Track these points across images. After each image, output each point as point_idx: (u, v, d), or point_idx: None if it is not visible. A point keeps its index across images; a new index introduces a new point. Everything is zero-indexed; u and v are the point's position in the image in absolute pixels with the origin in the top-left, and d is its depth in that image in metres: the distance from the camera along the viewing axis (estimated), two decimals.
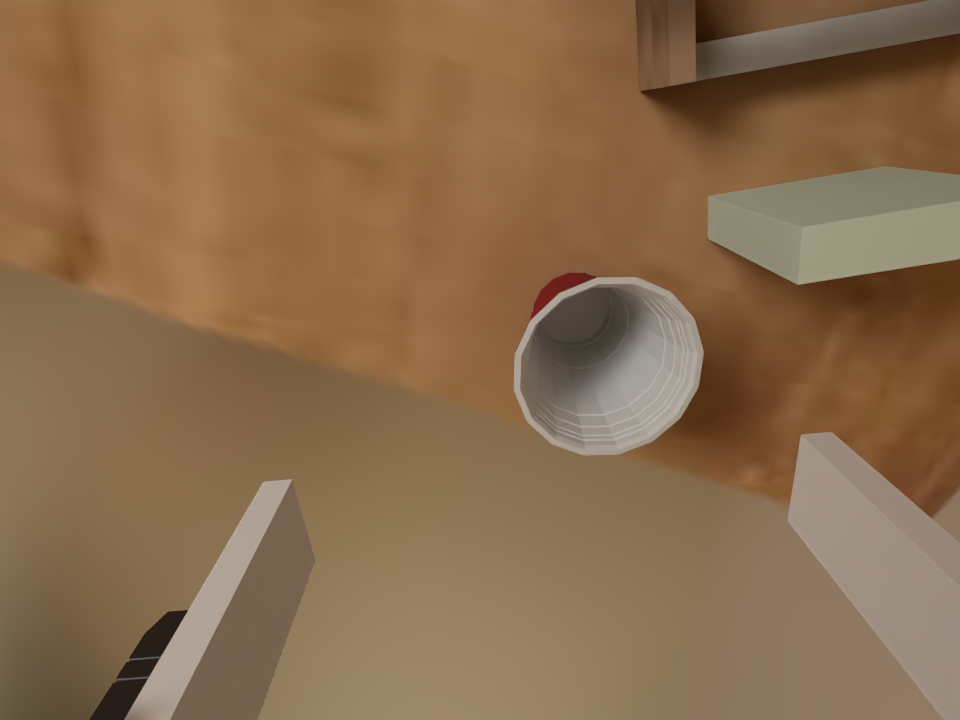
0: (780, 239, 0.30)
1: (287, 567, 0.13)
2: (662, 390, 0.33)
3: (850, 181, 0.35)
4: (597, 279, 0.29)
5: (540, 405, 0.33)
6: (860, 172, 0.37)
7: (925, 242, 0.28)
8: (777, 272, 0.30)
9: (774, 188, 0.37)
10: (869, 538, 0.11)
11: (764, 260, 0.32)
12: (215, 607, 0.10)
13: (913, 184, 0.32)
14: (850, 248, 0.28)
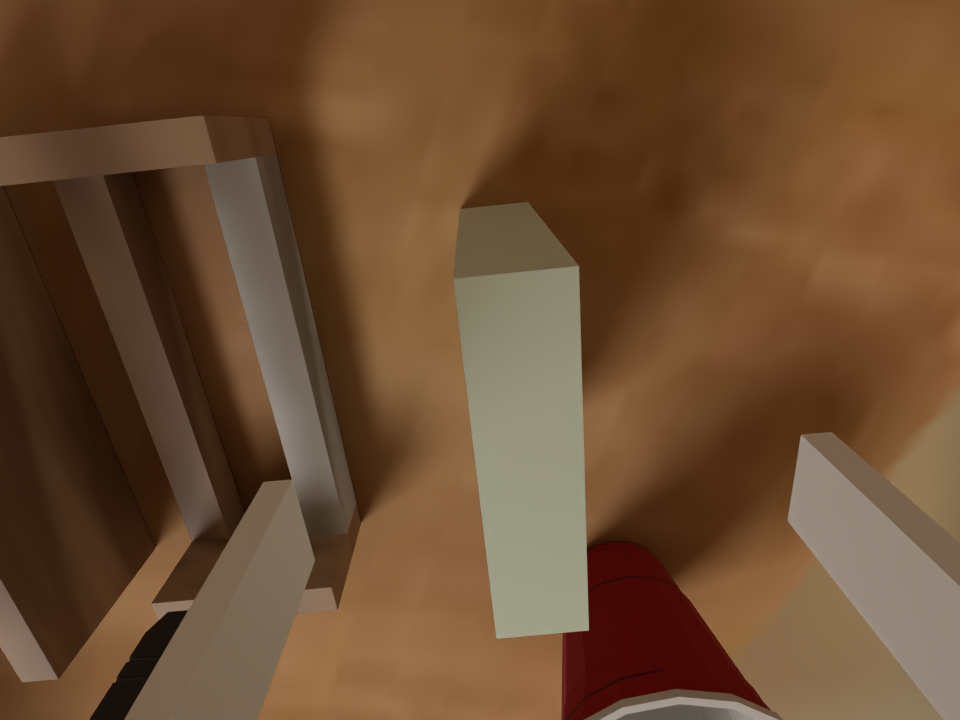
0: None
1: (287, 567, 0.13)
2: None
3: None
4: None
5: None
6: None
7: (543, 472, 0.15)
8: None
9: None
10: (868, 538, 0.11)
11: None
12: (215, 607, 0.10)
13: None
14: (538, 575, 0.17)
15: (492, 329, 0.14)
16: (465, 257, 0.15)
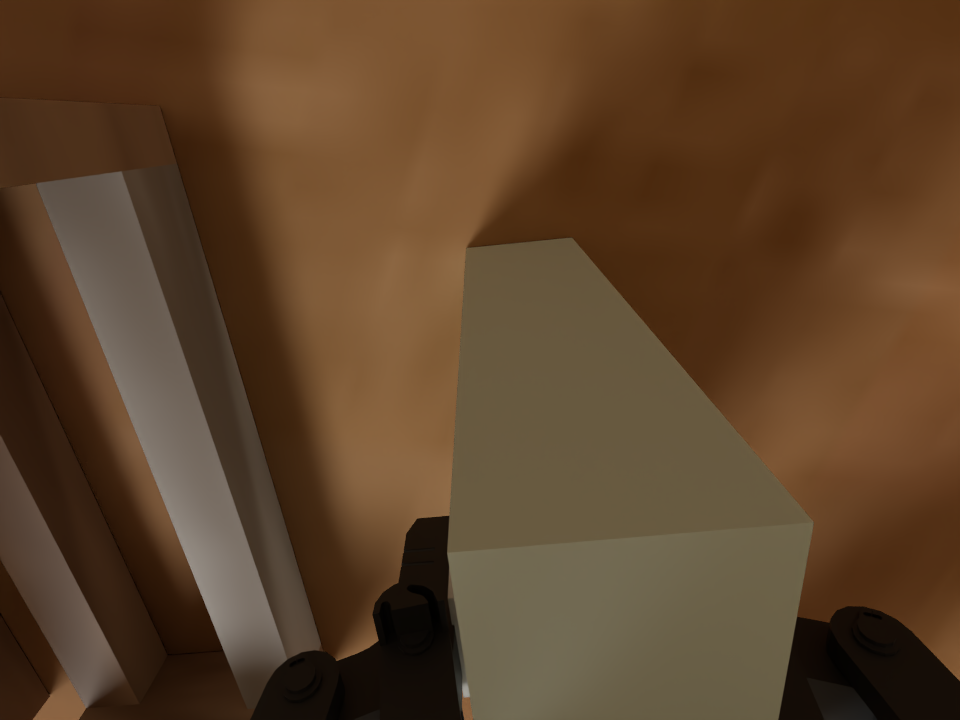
0: None
1: None
2: None
3: None
4: None
5: None
6: None
7: None
8: None
9: None
10: None
11: None
12: None
13: None
14: None
15: (551, 661, 0.05)
16: (479, 418, 0.07)
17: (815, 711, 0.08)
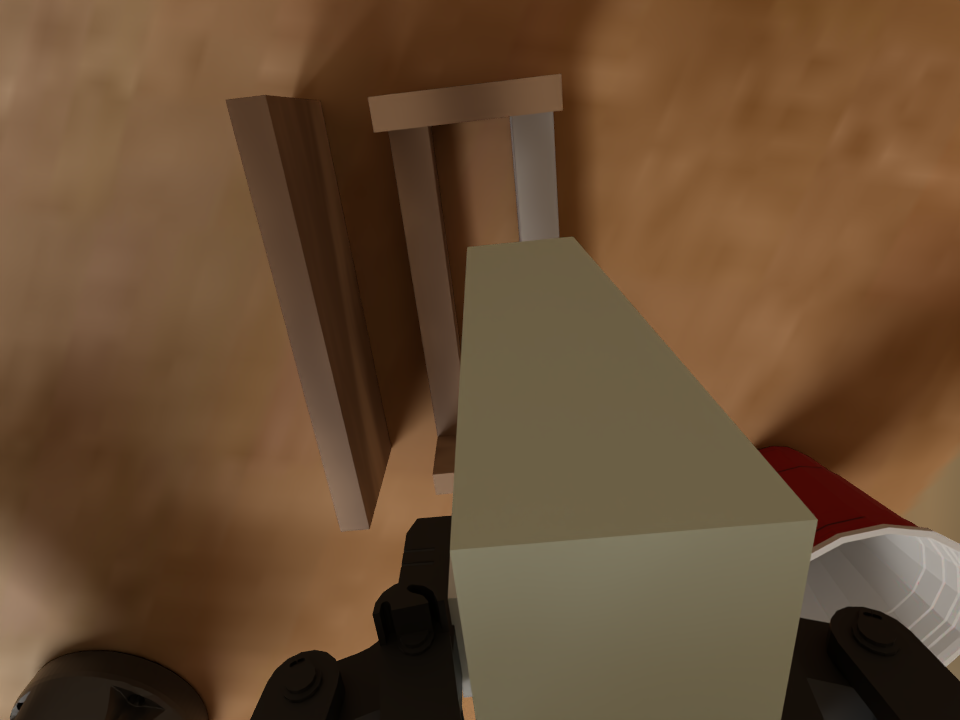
0: None
1: None
2: None
3: None
4: None
5: None
6: None
7: None
8: None
9: None
10: None
11: None
12: None
13: None
14: None
15: (554, 658, 0.05)
16: (481, 416, 0.07)
17: (815, 711, 0.08)
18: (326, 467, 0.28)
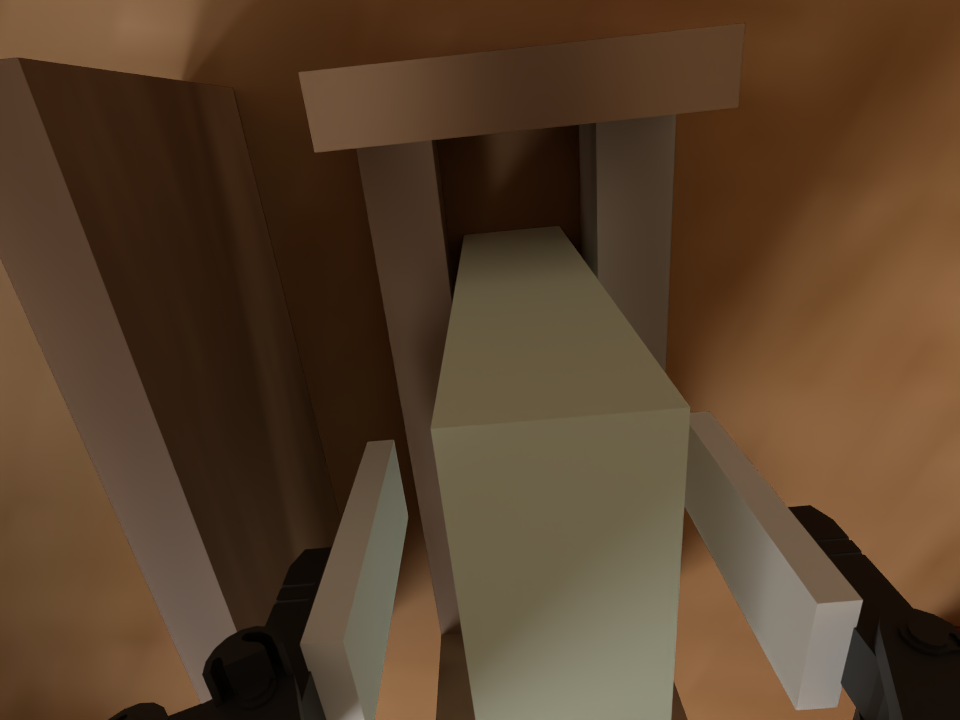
0: None
1: (395, 517, 0.15)
2: None
3: None
4: None
5: None
6: None
7: None
8: None
9: None
10: (721, 501, 0.13)
11: None
12: (357, 540, 0.12)
13: None
14: None
15: (507, 517, 0.07)
16: (461, 354, 0.08)
17: None
18: None
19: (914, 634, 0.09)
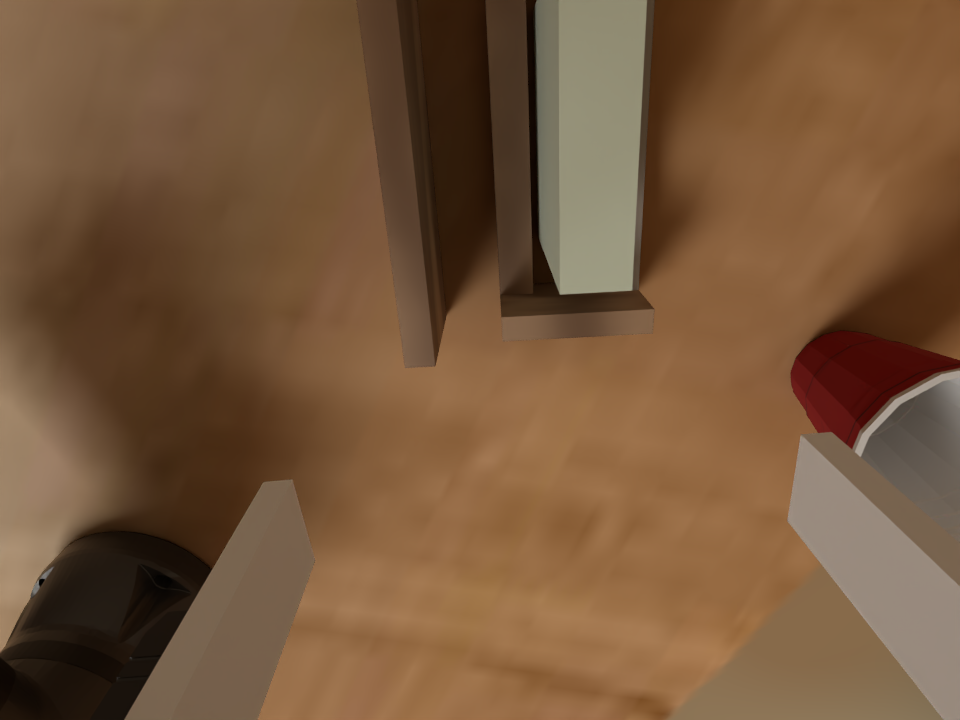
0: None
1: (287, 567, 0.13)
2: None
3: (539, 94, 0.28)
4: None
5: None
6: (535, 52, 0.29)
7: (608, 130, 0.20)
8: None
9: (538, 171, 0.31)
10: (869, 538, 0.11)
11: None
12: (215, 607, 0.10)
13: (545, 60, 0.24)
14: (597, 232, 0.22)
15: None
16: None
17: None
18: (397, 290, 0.27)
19: None
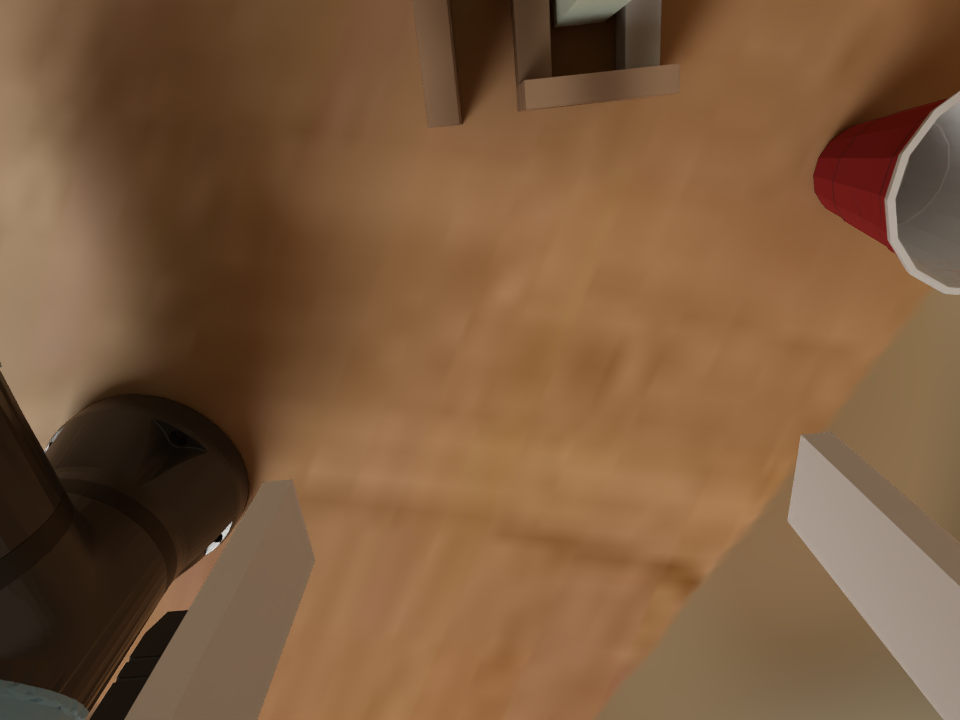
0: None
1: (287, 567, 0.13)
2: None
3: None
4: (889, 199, 0.27)
5: None
6: None
7: None
8: None
9: None
10: (868, 538, 0.11)
11: None
12: (215, 607, 0.10)
13: None
14: None
15: None
16: None
17: None
18: (419, 32, 0.26)
19: None
